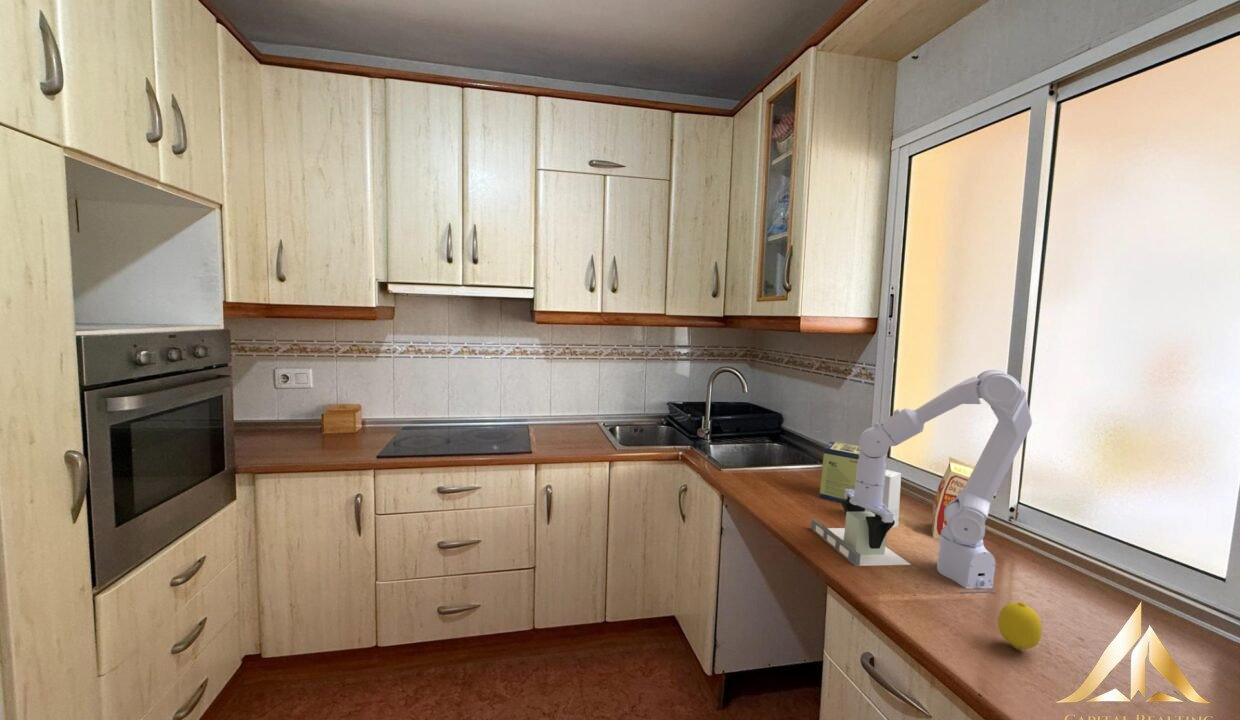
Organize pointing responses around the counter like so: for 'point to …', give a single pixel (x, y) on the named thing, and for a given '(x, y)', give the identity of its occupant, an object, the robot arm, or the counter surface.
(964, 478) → the milk carton
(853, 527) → the box
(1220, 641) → the counter surface
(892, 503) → the skincare box
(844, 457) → the protein box
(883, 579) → the counter surface
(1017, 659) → the counter surface
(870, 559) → the shelf board
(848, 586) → the counter surface
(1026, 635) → the lemon
